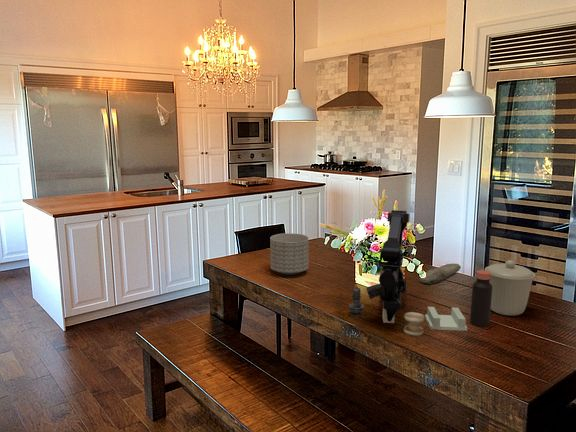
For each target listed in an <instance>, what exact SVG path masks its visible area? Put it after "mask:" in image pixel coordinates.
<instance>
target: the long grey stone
mask: <svg viewBox="0 0 576 432" xmlns="http://www.w3.org/2000/svg"><path fill="white" fill-rule="evenodd" d="M460 270H461V265H460V264H458V263H446V264H444V265H441V266H439V267H436V268H433V269H432V268H431V269H428V270H427V271H426V278H420V277H419V281H420V283H423V284H428V285H431V284H435V283H436V284H437V283H439V282H443V281H444V280H445V279H447V278H448V277H449V276H452V275H453V274H456V273H458V272H459V271H460Z"/></svg>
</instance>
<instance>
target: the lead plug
mask: <svg viewBox="0 0 576 432" xmlns="http://www.w3.org/2000/svg"><path fill="white" fill-rule="evenodd" d="M395 315H396V314H395ZM395 315H394V316H393V318H392V320H391V321H388V319H387V312H386V309H383V308H382V321H383V324H385V323H387V324H395V317H396V316H395Z"/></svg>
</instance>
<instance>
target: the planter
mask: <svg viewBox="0 0 576 432" xmlns="http://www.w3.org/2000/svg"><path fill="white" fill-rule="evenodd" d="M269 239H270V240H269V241H270V242H269V243H270V244H269V246H270V247H269V248H270V249H269V252H270V253H269V254H270V257H269V261H270V265H269V266H270V269H271V270H273V271H275V272H277V273H279V274H281V275H283V276H284V275H285V276H294V275H295V276H296V275H299V274H300V273H302V272H304V271H306V270H308V269H309V237H308V235H305V234H302V233H294V232H293V233H291V232H289V233H288V232H287V233H285V232H283V233H277V234H274V235H271V236H270V237H269Z"/></svg>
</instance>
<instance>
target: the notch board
mask: <svg viewBox="0 0 576 432" xmlns="http://www.w3.org/2000/svg"><path fill="white" fill-rule="evenodd" d="M426 312H427V314H424V319H425V321H426V323H427V324H428V325H427V326H428V327H429V329H430V330H438V331H442V330H443V331H461V332H463V331H465V332H467V331H468V326H467V325H466V318H465V316H464V315H463V313H462V312H461V310H460V308H459V307H451V311H450V313H451V314H439V313H438V312H437V309H436V308H435V306H427V311H426Z"/></svg>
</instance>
